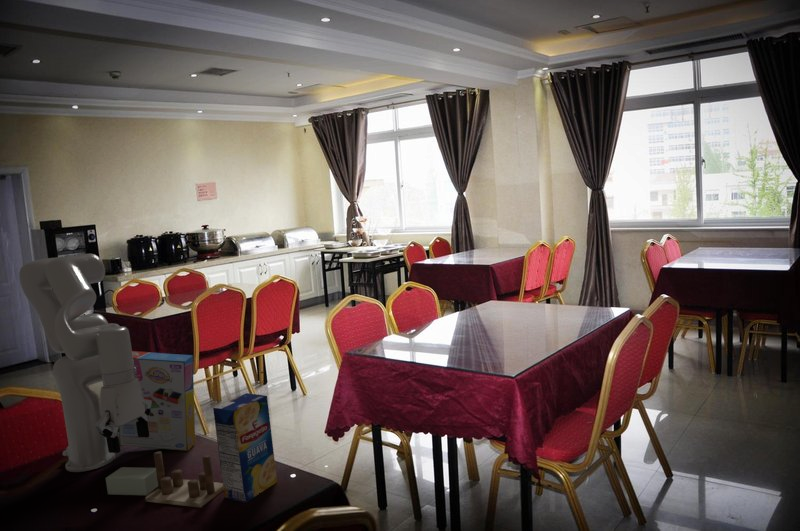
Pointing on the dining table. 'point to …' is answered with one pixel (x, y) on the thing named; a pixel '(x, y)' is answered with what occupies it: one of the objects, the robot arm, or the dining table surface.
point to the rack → (184, 486)
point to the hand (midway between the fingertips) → (129, 444)
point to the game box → (164, 402)
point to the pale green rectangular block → (132, 481)
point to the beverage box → (245, 446)
